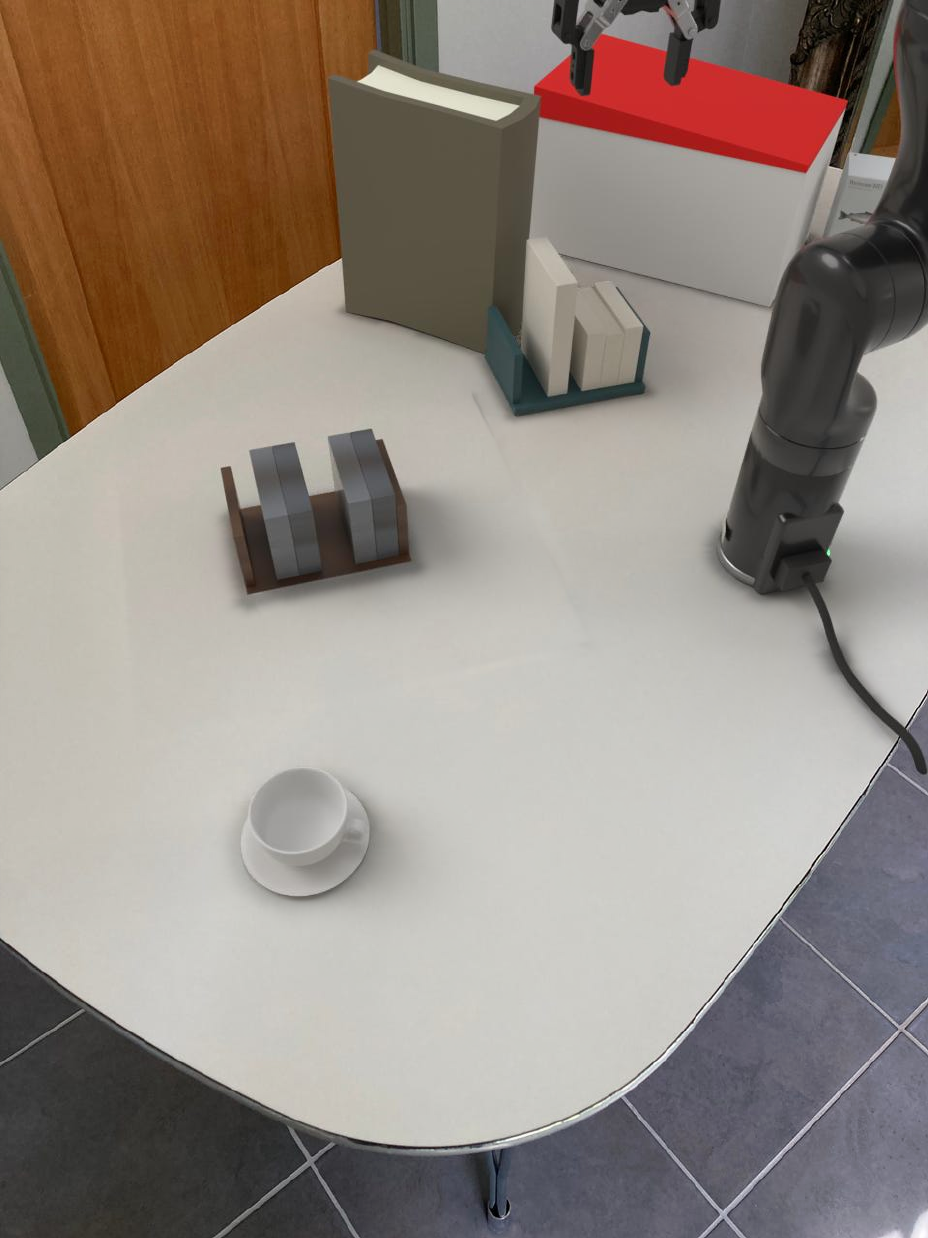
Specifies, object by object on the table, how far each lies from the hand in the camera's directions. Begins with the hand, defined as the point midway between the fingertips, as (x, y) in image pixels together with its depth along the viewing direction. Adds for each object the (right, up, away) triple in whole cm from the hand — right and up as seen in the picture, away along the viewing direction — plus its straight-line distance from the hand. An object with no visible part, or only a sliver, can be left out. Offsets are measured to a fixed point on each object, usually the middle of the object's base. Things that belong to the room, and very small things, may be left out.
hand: (627, 87), depth 85 cm
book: (-18, -9, +38) cm, 43 cm away
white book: (-5, -18, +28) cm, 34 cm away
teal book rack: (-3, -18, +29) cm, 35 cm away
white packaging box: (+38, +3, +47) cm, 61 cm away
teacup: (-27, -64, -10) cm, 71 cm away
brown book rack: (-29, -39, +11) cm, 50 cm away
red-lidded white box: (+14, +6, +50) cm, 53 cm away
